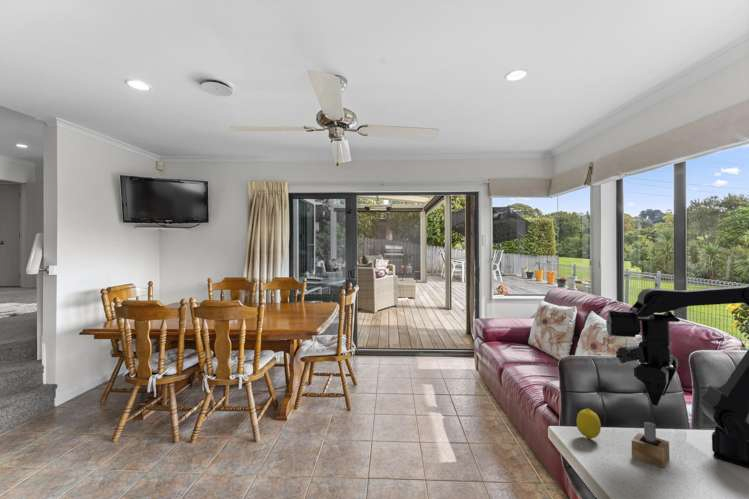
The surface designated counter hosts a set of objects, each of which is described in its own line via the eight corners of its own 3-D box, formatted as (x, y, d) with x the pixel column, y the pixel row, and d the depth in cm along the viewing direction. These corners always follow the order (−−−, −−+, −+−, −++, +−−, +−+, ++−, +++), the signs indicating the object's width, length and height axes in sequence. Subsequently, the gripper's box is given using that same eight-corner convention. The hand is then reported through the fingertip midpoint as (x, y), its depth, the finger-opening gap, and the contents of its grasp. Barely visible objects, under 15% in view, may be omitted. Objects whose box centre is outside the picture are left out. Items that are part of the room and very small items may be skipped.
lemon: (594, 434, 98) (593, 404, 98) (605, 445, 92) (604, 413, 92) (573, 433, 98) (572, 404, 98) (582, 444, 93) (582, 412, 93)
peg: (657, 457, 86) (656, 424, 86) (655, 461, 85) (654, 427, 85) (646, 454, 88) (645, 421, 88) (643, 457, 86) (642, 423, 86)
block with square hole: (669, 458, 86) (669, 441, 86) (663, 468, 82) (662, 450, 82) (639, 448, 90) (638, 432, 90) (631, 457, 86) (631, 440, 87)
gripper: (627, 329, 104) (629, 383, 103) (608, 339, 91) (611, 401, 91) (677, 334, 96) (679, 393, 95) (664, 346, 83) (667, 415, 83)
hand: (658, 400), depth 91 cm, fingers open, 9 cm apart
